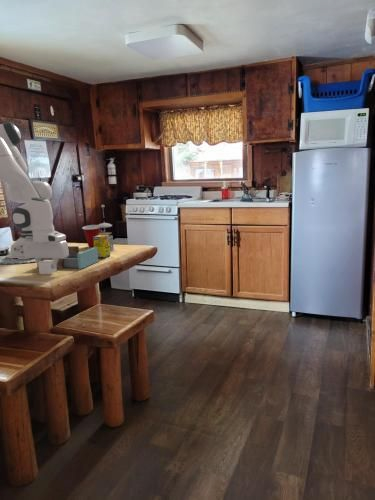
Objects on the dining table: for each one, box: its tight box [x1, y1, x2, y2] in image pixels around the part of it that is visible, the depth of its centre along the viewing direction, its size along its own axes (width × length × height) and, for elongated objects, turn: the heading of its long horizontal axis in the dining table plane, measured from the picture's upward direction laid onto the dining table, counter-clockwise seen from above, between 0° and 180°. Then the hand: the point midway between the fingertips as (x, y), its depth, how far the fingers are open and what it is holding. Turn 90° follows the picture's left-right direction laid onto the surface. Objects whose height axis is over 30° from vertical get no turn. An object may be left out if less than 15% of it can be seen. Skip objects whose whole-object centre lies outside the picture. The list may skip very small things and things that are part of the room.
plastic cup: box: [81, 224, 101, 248], centre depth 224 cm, size 11×11×12 cm
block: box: [38, 260, 58, 275], centre depth 165 cm, size 5×5×5 cm
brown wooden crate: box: [36, 245, 80, 270], centre depth 179 cm, size 13×14×8 cm
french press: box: [97, 204, 116, 253], centre depth 207 cm, size 10×12×25 cm
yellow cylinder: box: [93, 234, 111, 259], centre depth 192 cm, size 6×6×11 cm
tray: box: [63, 247, 99, 270], centre depth 177 cm, size 13×15×7 cm
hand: (47, 268), depth 165 cm, fingers closed on block, 5 cm apart
